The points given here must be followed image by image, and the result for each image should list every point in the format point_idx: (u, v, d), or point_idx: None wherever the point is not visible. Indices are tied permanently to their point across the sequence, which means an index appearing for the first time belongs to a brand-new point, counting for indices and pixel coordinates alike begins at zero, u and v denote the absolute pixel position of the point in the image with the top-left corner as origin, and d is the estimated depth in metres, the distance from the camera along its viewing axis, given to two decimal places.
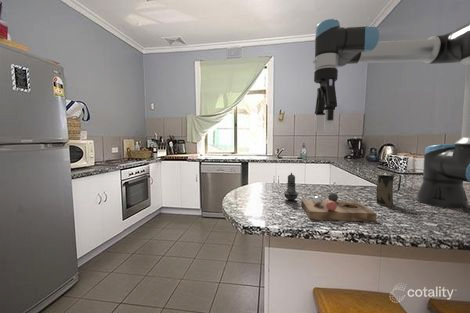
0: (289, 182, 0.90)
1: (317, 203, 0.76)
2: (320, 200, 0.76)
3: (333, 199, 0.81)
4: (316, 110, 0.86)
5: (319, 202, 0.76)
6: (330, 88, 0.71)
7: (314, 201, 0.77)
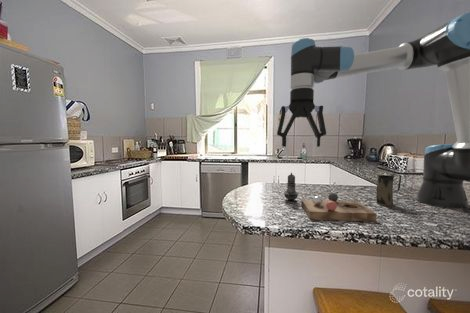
0: (289, 182, 0.90)
1: (317, 203, 0.76)
2: (320, 200, 0.76)
3: (333, 199, 0.81)
4: None
5: (319, 202, 0.76)
6: None
7: (314, 201, 0.77)
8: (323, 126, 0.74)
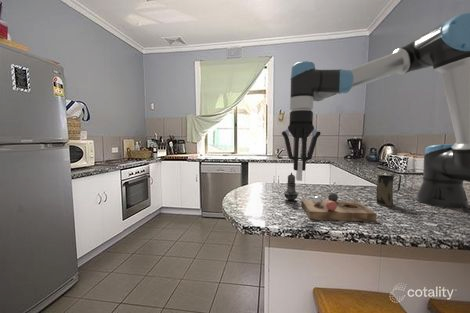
0: (289, 182, 0.90)
1: (317, 203, 0.76)
2: (320, 200, 0.76)
3: (333, 199, 0.81)
4: None
5: (319, 202, 0.76)
6: (285, 141, 0.77)
7: (314, 201, 0.77)
8: (311, 151, 0.75)
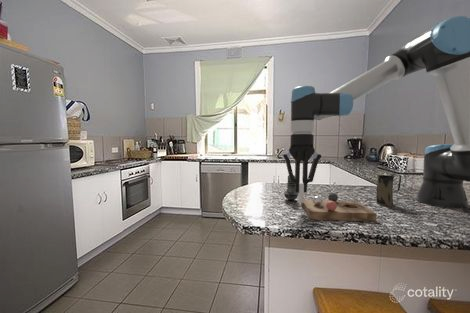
0: (289, 182, 0.90)
1: (317, 203, 0.76)
2: (320, 200, 0.76)
3: (333, 199, 0.81)
4: None
5: (319, 202, 0.76)
6: (286, 163, 0.78)
7: (314, 201, 0.77)
8: (313, 173, 0.76)
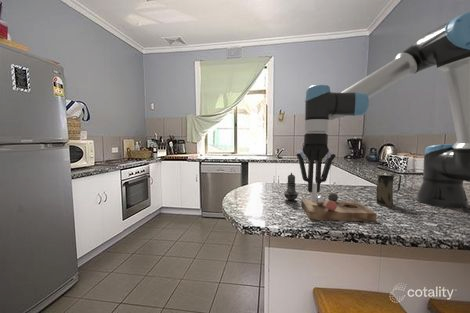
0: (289, 182, 0.90)
1: (319, 202, 0.76)
2: (323, 201, 0.76)
3: (333, 199, 0.81)
4: None
5: (321, 203, 0.76)
6: (299, 162, 0.78)
7: (317, 199, 0.77)
8: (326, 173, 0.76)
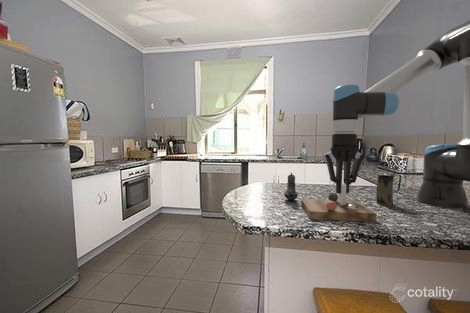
0: (289, 182, 0.90)
1: None
2: None
3: (333, 199, 0.81)
4: None
5: None
6: (327, 163, 0.77)
7: None
8: (356, 174, 0.75)
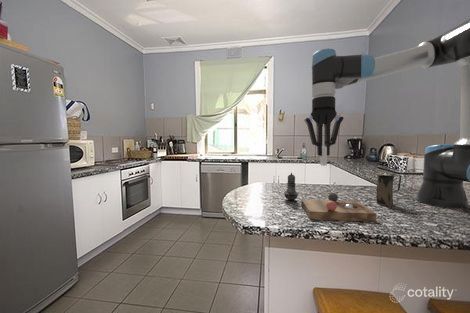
0: (289, 182, 0.90)
1: None
2: (351, 207, 0.75)
3: (333, 199, 0.81)
4: None
5: None
6: (308, 127, 0.79)
7: None
8: (335, 136, 0.77)
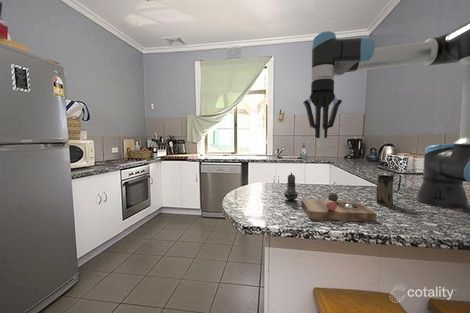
0: (289, 182, 0.90)
1: None
2: (351, 207, 0.75)
3: (333, 199, 0.81)
4: None
5: None
6: (307, 110, 0.81)
7: None
8: (333, 118, 0.79)
